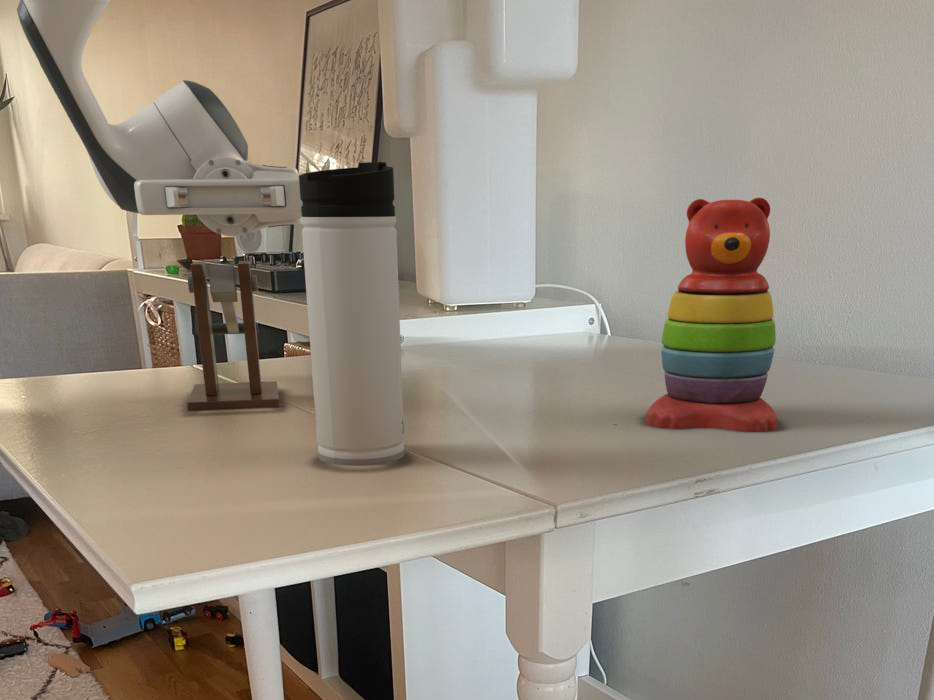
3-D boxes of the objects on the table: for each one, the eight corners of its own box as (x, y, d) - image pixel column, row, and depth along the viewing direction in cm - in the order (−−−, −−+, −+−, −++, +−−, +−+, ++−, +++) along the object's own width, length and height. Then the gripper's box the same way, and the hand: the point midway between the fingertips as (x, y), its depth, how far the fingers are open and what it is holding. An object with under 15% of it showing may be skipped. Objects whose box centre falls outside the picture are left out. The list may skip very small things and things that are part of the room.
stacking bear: (643, 431, 81) (658, 197, 74) (651, 408, 90) (665, 198, 83) (777, 436, 79) (806, 196, 72) (771, 413, 88) (797, 197, 81)
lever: (210, 342, 101) (208, 319, 101) (259, 340, 102) (257, 317, 102) (194, 293, 86) (191, 265, 85) (251, 291, 86) (249, 264, 86)
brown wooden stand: (195, 399, 96) (178, 260, 90) (278, 396, 97) (266, 259, 92) (189, 419, 87) (169, 266, 81) (280, 415, 88) (266, 264, 83)
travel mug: (424, 460, 72) (415, 161, 64) (370, 480, 67) (354, 157, 59) (357, 450, 75) (341, 163, 67) (301, 468, 70) (276, 160, 62)
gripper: (136, 169, 116) (121, 165, 104) (309, 168, 120) (314, 164, 107) (144, 226, 119) (130, 229, 106) (313, 223, 122) (319, 226, 110)
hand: (224, 196), depth 107 cm, fingers open, 8 cm apart
